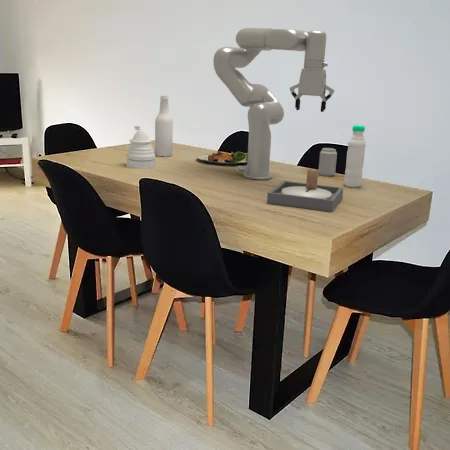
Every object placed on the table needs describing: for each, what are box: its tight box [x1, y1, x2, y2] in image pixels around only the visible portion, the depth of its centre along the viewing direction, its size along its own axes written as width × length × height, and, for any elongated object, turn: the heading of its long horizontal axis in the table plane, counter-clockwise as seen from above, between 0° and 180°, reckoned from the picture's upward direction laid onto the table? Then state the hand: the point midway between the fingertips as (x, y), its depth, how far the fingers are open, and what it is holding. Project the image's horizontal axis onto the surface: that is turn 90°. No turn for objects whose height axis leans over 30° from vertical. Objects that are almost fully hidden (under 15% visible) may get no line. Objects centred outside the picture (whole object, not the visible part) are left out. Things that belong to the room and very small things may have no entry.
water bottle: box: [343, 124, 367, 189], centre depth 225 cm, size 7×7×25 cm
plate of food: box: [196, 150, 248, 165], centre depth 272 cm, size 28×28×6 cm
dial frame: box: [266, 180, 344, 212], centre depth 201 cm, size 23×23×6 cm
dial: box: [282, 168, 332, 200], centre depth 200 cm, size 18×18×8 cm
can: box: [318, 147, 338, 177], centre depth 248 cm, size 8×8×12 cm
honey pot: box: [126, 125, 156, 170], centre depth 249 cm, size 13×13×18 cm
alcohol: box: [154, 94, 174, 157], centre depth 276 cm, size 9×9×30 cm
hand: (309, 110), depth 215 cm, fingers open, 9 cm apart
